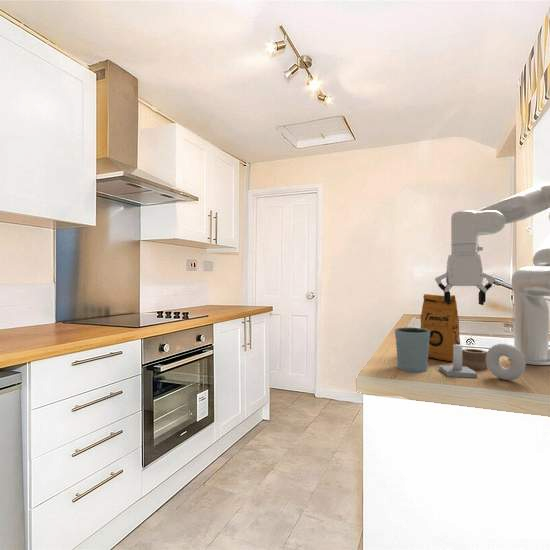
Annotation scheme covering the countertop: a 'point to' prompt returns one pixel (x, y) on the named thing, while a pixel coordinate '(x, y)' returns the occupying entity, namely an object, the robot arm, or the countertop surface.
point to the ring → (474, 358)
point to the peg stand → (457, 365)
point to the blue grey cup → (412, 349)
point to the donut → (515, 358)
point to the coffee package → (440, 326)
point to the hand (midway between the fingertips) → (464, 304)
